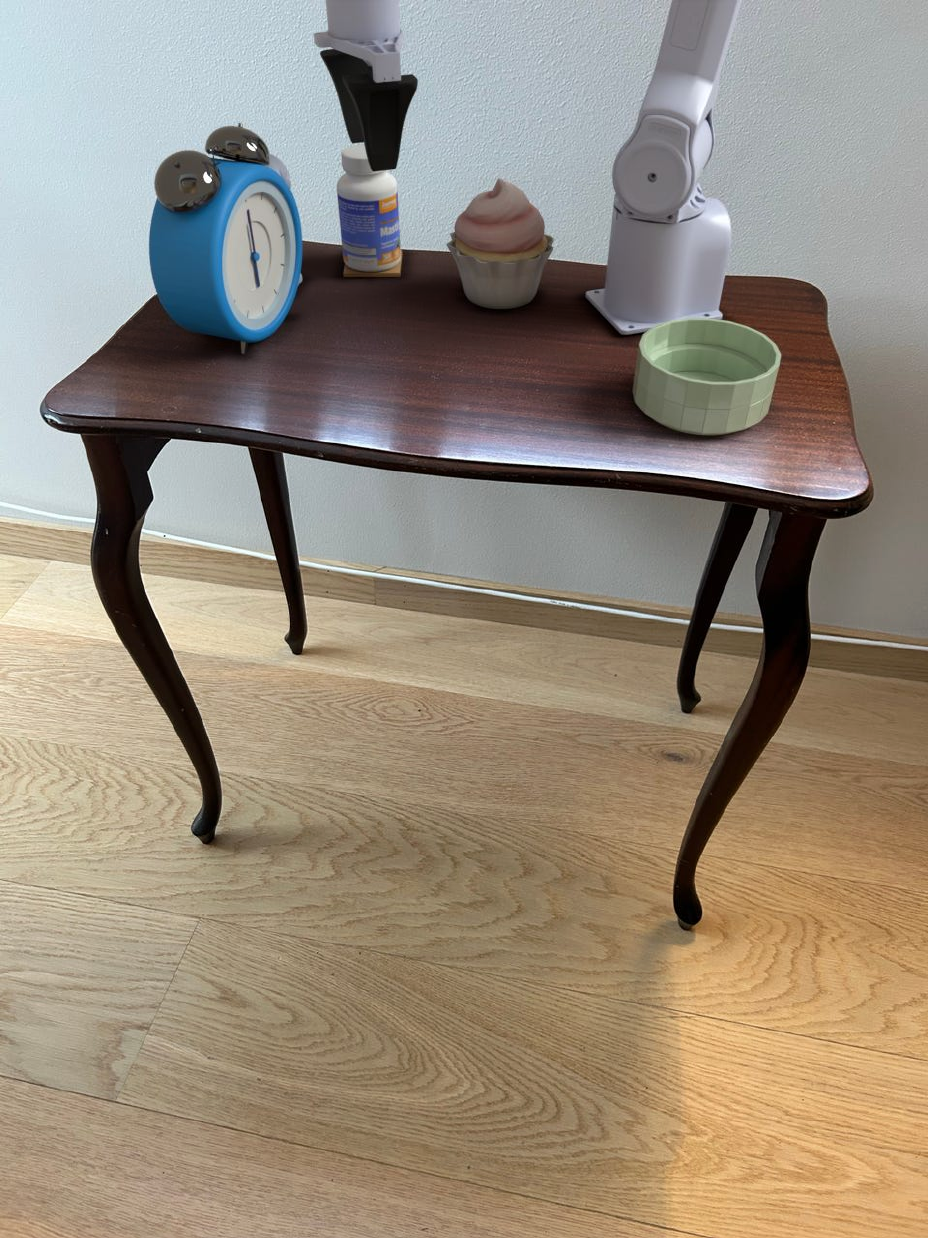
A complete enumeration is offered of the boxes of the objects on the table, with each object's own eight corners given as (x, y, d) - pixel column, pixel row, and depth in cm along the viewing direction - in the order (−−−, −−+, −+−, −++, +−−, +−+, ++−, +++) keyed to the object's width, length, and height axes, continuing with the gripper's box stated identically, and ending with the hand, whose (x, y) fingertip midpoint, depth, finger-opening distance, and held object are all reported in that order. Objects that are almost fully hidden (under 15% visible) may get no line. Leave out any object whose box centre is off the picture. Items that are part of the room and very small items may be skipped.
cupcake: (440, 276, 88) (438, 161, 81) (540, 270, 89) (546, 156, 82) (454, 322, 81) (453, 201, 74) (561, 315, 82) (570, 195, 75)
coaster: (402, 253, 92) (402, 249, 91) (400, 276, 88) (400, 272, 88) (348, 254, 92) (347, 250, 91) (343, 277, 88) (343, 272, 87)
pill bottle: (393, 275, 87) (386, 163, 80) (336, 271, 88) (325, 158, 81) (407, 252, 91) (402, 142, 84) (352, 247, 92) (343, 138, 85)
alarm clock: (233, 374, 75) (195, 174, 64) (166, 360, 76) (119, 163, 66) (313, 303, 83) (291, 117, 73) (251, 292, 85) (221, 108, 75)
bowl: (724, 363, 76) (735, 309, 73) (793, 427, 69) (808, 371, 66) (610, 383, 74) (617, 328, 70) (669, 451, 67) (679, 393, 64)
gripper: (291, -48, 77) (310, 134, 86) (327, -14, 67) (345, 187, 76) (376, -53, 79) (386, 126, 88) (424, -21, 68) (430, 178, 78)
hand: (372, 154), depth 82 cm, fingers open, 7 cm apart
